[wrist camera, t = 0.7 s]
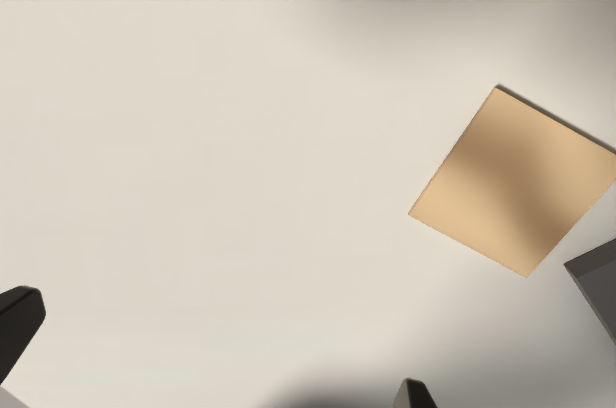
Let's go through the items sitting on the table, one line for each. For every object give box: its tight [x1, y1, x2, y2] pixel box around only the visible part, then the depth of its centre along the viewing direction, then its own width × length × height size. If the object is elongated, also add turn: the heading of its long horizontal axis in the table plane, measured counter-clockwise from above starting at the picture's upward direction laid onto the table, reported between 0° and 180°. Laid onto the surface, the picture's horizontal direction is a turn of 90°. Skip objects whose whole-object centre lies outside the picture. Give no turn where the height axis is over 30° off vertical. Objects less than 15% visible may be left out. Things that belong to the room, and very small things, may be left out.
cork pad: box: [408, 87, 616, 278], centre depth 21 cm, size 8×8×1 cm
